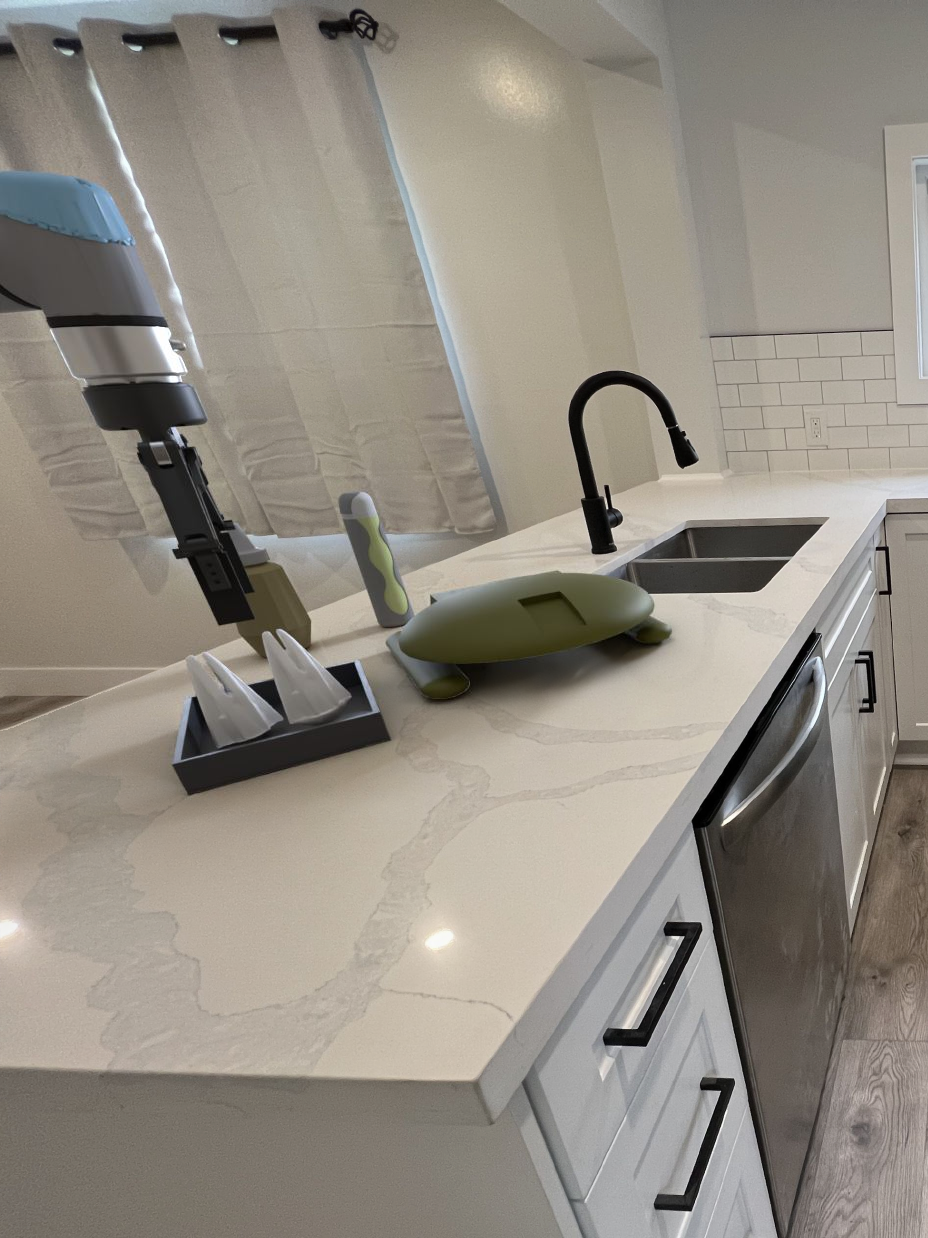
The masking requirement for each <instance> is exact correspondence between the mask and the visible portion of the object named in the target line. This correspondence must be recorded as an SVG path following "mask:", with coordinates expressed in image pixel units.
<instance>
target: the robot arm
mask: <svg viewBox="0 0 928 1238" xmlns="http://www.w3.org/2000/svg"><path fill="white" fill-rule="evenodd" d="M136 245H137V243H136V239H135V237H133V236H132V234H131V232H130V230H129V228H128V226H127V224H126V222H125V220H124V218H123V217H122V215H121V213H120V211H119V208H118V206H117V205H116V203H115V201H114V198H113V197H112V196H111V194H110V193H109V192H108V191H107V190H106V189H105V188H104V187H102V186H100V184H97V183H95V182H93V181H90V180H87V179H85V178H80V177H77V176H76V177H75V176H71V175H66V174H59V173H52V172H40V171H29V170H28V171H27V170H0V314H10V313H22V312H37V311H42V313H43V315H44V316H45V322H46V323H47V326H48V327H49V328H50V329H49V331H50V333H51V335H52V338H53V340H54V341H55V343H56V346H57V348H58V350H59V352H60V354H61V356H62V358H63V360H64V362H65V365H66V367H67V368H68V370H69V373H70V375H71V376H72V377H73V378H74V379H76V380H83V381H84V383H85V385H86V386H82V390H81V391H80V393H81V396H82V398H83V400H84V401H85V404H86V406H87V408H88V411H89V412H90V414H91V417H92V418H93V420H94V423H95V424H96V426H97V427H98V428H99V429H101V430H103V431H107V432H121V431H137V432H138V435H139V437H140V440H141V441H140V442H139V441H138V442H136V445H137V446H136V449H137V451H136V456H137V458H138V460H139V463H140V464H141V466H142V468H143V469H144V470H145V472H146V473H147V475H148V477H149V480H150V483H151V486H152V487H153V489H154V491H155V492H156V494H157V495H158V498H159V499H160V502H161V504H162V507H163V509H164V512H165V514H166V517H167V519H168V521H169V524H170V527H171V529H172V531H173V533H174V537H175V538H176V542H177V547H176V548H171V551H172V553H173V555H174V557H175V559H176V560H183V559H186V560H187V562H188V564H189V566H190V568H191V570H192V572H193V574H194V576H195V579H196V581H197V582H198V585H199V588H200V589H201V592H202V593H203V596H204V598H205V600H206V602H207V604H208V606H209V609H210V611H211V613H212V615H213V617H214V619H215V622H216V623H217V625H218V627H220V626H225V625H226V626H227V625H232V624H236V623H237V622H243V621H248V620H253V619H255V616H254V614H253V611H252V609H251V607H250V605H249V602H248V600H247V598H246V596H245V594H248V593H254V592H255V590H254V588H253V586H252V584H251V581H250V579H249V577H248V575H247V572H246V570H245V568H244V565H243V563H242V561H241V559H240V556H239V554H238V552H237V549H236V547H235V545H234V543H233V540H232V538H231V536H230V533H229V532H227V531H228V530H236V528H235V526H234V523H235V522H234V521H233V519H226V520H225V516H224V514H223V513H221V511H220V508H219V507H218V504H217V503H216V500H215V498H214V497H213V494H212V492H211V490H210V488H209V480H208V477H207V474H206V471H205V470H204V468H203V461H202V458H201V456H200V453H199V451H198V449H197V447H196V446H193V445H192V446H189V440H188V438H187V437H186V435H184V434H183V433H179V431H178V429H177V428H184V427H194V426H202V425H205V424H207V422H208V420H209V418H208V415H207V412H206V411H205V408H204V406H203V403H202V401H201V399H200V396H199V394H198V392H197V390H196V387H195V386H194V385H192V384H191V383H190V382H183V380H182V376H186V375H187V374H188V370H187V368H186V365H185V363H184V361H183V357H182V356H181V355H179V354H177V353H176V352H185V351H187V349H188V347H187V345H186V343H185V342H184V341H183V340H182V339H173V338H172V339H171V337H172V332H171V330H170V329H169V326H170V325H169V324H168V321H167V319H166V318H165V315H164V313H163V310H162V307H161V306H160V303H159V301H158V299H157V296H156V293H155V291H154V288H153V286H152V284H151V281H150V279H149V276H148V274H147V272H146V269H145V267H144V264H143V261H142V259H141V257H140V254H139V251H138V248H137V246H136Z"/></svg>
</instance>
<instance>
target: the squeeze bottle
mask: <svg viewBox="0 0 928 1238" xmlns="http://www.w3.org/2000/svg"><path fill="white" fill-rule="evenodd" d="M233 523H234V526H235V528H236V530H228V531H226V532H229V533H230V536H231V538H232V540H233V543H234V545H235V547H236V549H237V552H238V554H239V556H240V559H241V561H242V563H243V565H244V568H245V570H246V572H247V575H248V577H249V579H250V581H251V584H252V586H253V588H254V590H255V592H254V593H248V594H245V596H246V598H247V600H248V602H249V605H250V607H251V609H252V611H253V614H254V616H255V619H253V620H248V621H243V622H237V623H235V626H236V629H237V632H238V634H239V635H240V637H241V638H242V639H243V640H244V641H245V642H246V643H247V644H248V645H249V646H250V647H251V648H252V649H253V650H254V651H255V652H256V653H257V655H259V656H260V657H266V658H267V655H266V652H265V647H264V644H263V639H262V634H263V633H264V632H270V633H271V634H272V636H273V637H274V638H275V639H276V640H277V642H278V643H279V644H280V645H281V647H282V648H283V649H284V650H286V647H285V646H284V644H283V643H282V641H281V639H280V638H279V636H278V634H277V632H276V630H277V629H281V630H283V631H285V632H286V633H287V634H289V635H290V636H291V637H292V638H294V639H295V640H296V641H297V642H298V643H299V644H300V645H301V646H302V647H303V648H304V649H305V650H306V649H308V648H309V647H310V646H311V645H312V619H311V617H310V615H309V613H308V612H307V609H306V608H305V606H304V605H303V602H302V600H301V599H300V597H299V595H298V592H297V591H296V589H295V588H294V586H293V585H292V582H291V580H290V578H289V577H288V575H287V573H286V571H285V569H284V568H283V566H282V565H281V564H279V563H277V562H273V561H270V560H271V558H270V555H269V553H268V551H267V549H266V548H265V547H260V546H259V547H256V546H254V543H252V541H251V540H250V538H249V537H248V536H247V534H246V533H245V531H244V530H243V528H242V527H241V526H240V525H239V523H238V522H233Z"/></svg>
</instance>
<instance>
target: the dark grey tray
mask: <svg viewBox="0 0 928 1238" xmlns="http://www.w3.org/2000/svg"><path fill="white" fill-rule="evenodd" d="M323 667H324V666H323ZM324 668H325V669H326V670H327V671H328V672H329V673H330V674H331V675H332V676H333V677H334V678H335V679H336V680H337V681H338V682H339V683H340V684H341V685H342V686H343V687H344V688H345V689H346V690H347V691H348V692H349V693H351V696H352V697H351V699H350V701H349V702H348V703H347V706H346V708H345V710H344V711H343V713H342V714H341V716H340V717H338V718H337V719H336V720H335V721H332V722H331V723H327V724H323V725H319V726H314V725H305V724H297V725H293V724H290V723H289V720H288V717H287V715H286V712H285V709H284V706H283V704H282V701H281V698H280V695H279V692H278V690H277V686H276V684H275V680H274V677H272V678H268V679H263V680H259V681H254V682H250V683H246V684H247V686H249V687H250V688H251V689H252V690H253V691H254V692H255V693H256V694H258V695H259V696H260V697H261V698H262V699H263V700H265V701H266V702H268V704H269V705H271V707H272V708H273V709H274V710H275V711H276V712H278V713H279V714H280V715H281V716H282V717H283V721H279V722H276V723H275V724H274V725H272V726H271V729H270V730H268V731H266V732H264V733H263V734H261V735H259V736H257V737H255V738H251V739H248V740H246V741H243V742H235V743H232V744H230V745H226V746H223V747H221V748H216V745H215V742H214V740H213V738H212V735H211V733H210V730H209V727H208V725H207V722H206V720H205V717H204V715H203V712H202V709H201V707H200V704H199V701H198V698H197V696H196V694H193V695H190V696H189V695H188V696H185V697H184V702H183V706H182V710H181V711H182V712H181V717H180V722H179V727H178V732H177V737H176V742H175V747H174V752H173V757H172V762H171V766H172V768H173V770H174V772H175V774H176V775H177V777H178V779H179V781H180V783H181V785H182V787H183V789H184V791H185V793H186V795H187V796H189V795H194V794H198V793H200V792H204V791H208V790H211V789H215V788H218V787H222V786H227V785H230V784H233V783H237V782H241V781H244V780H248V779H252V778H255V777H259V776H263V775H266V774H270V773H274V772H277V771H282V770H285V769H289V768H292V767H296V766H300V765H304V764H307V763H312V762H314V761H318V760H321V759H322V760H323V759H324V758H330V757H333V756H336V755H340V754H343V753H348V752H351V751H355V750H359V749H362V748H366V747H369V746H374V745H377V744H381V743H385V742H388V741H391V740H392V739H391V736H390V734H389V731H388V729H387V726H386V725H387V724H386V723H385V721H384V717H383V715H382V713H381V710H380V707H379V705H378V703H377V700H376V697H375V695H374V692H373V690H372V688H371V684H370V683H369V681H368V678H367V675H366V672H365V671H364V668H363V665H362V663H361V660H360V659H356V660H352V661H351V660H350V661H346V662H342V663H337V664H333V665H329V666H325V667H324Z"/></svg>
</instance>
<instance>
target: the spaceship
mask: <svg viewBox="0 0 928 1238" xmlns="http://www.w3.org/2000/svg"><path fill="white" fill-rule="evenodd" d="M429 600H430V601H429V603H430V605H428V606H426V607H425V608H424V609H422V610H420V611H419V612H418V613H416V614H414V615H415V616H414V617H413V618H412V619H411V620H410V621H409V622H408V623H407V624H405V625H403V628H402V629H401V630H398V631H396V632H394V633H392V634H390V635H389V636H387V638H386V640H385V645H386V647H387V648H388V649H389V651H390V653H391V654H392V655H393V657H394V658H395V659H396V660H397V662H398V663H399V665H400V666H401V667H402V669H403V670H404V671H405V673H406V674H407V676H408V677H409V678H410V680H411V681H412V683H413V684H414V685H415V687H416V689H418V691H419V692H420V694H421V695H422V696H423V697H426V698H428V699H430V700H431V699H432V700H446V699H452V698H454V697H457V696H459V695H461V694H463V693H464V692H466V691H467V690H468V689H469V687H470V684H471V683H470V679H469V677H467V676H466V674H464V672H463V671H462V670H461V669H460V668H459V667H458V666H457V665H458V664H463V665H465V664H485V663H486V664H487V663H497V662H506V661H515V660H516V661H517V660H523V659H529V658H534V657H541V656H548V655H551V654H555V653H559V652H560V653H561V652H565V651H568V650H569V651H570V650H574V649H578V648H581V647H583V646H584V647H585V646H588V645H591V644H595V643H598V642H602V641H604V640H607V639H609V638H612V637H615V636H617V635H620V634H622V633H624V634H625V635H627V636H629V637H631V638H632V639H634V640H636V641H638V642H640V643H643V644H651V645H652V644H659V643H661V642H664V641H666V640H667V639H669V638H671V635H672V634H673V630H672V629H673V628H671V626H670V625H668V624H667V623H665V622H663V621H661V620H659V619H658V618H655V617H653V616H651V615H652V614H653V613H654V610H655V606H656V605H655V601H654V599H653V597H652V596H651V595H650V594H649V592H647V591H646V590H645V588H643V587H641V586H639V585H637V584H635V583H633V582H631V581H628V580H626V579H622V578H618V577H613V576H609V575H604V574H596V573H583V572H562V571H559V570H558V569H557V570H552V571H547V572H542V573H535V574H530V575H523V576H522V575H521V576H515V577H511V578H510V577H509V578H504V579H500V580H495V581H491V582H487V583H483V584H478V585H473V586H467V587H463V588H457V589H452V590H446V591H441V592H436V593H431V594H429Z"/></svg>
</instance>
